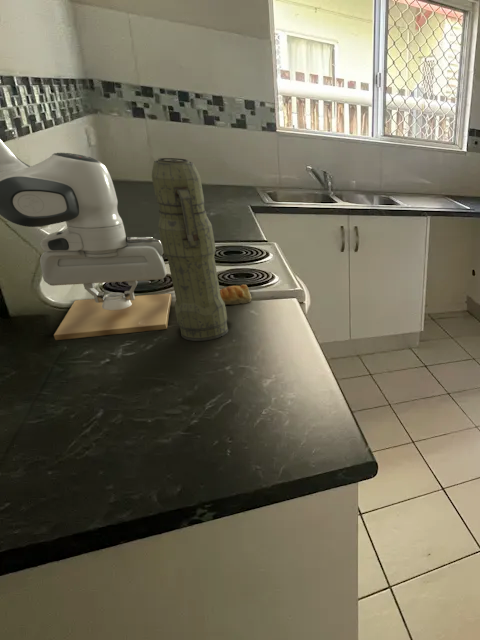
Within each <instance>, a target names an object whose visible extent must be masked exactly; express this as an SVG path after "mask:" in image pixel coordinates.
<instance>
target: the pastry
mask: <svg viewBox="0 0 480 640" xmlns="http://www.w3.org/2000/svg"><path fill="white" fill-rule="evenodd" d="M220 295H221V298H222V300H223V301H224V303H225V306H228V305H229V306H230V305H240V304H241V305H242V304H243V305H244V304H248V303H250V302H251V301H252V294H251V292H250V289H249V287H248V285H247V284H241V285H229V286H226V287H223V288H221V289H220Z"/></svg>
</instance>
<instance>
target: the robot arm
mask: <svg viewBox="0 0 480 640" xmlns="http://www.w3.org/2000/svg"><path fill="white" fill-rule="evenodd" d="M118 203H119V201H118V196H117V193H116V189H115V185H114V182H113V180H112V176H111V174H110V172H109V170H108V168H107V167H106V165H105V164H104V163H102V162H101V161H100V160H98V159H96V158H93V157H91V156H86V155H82V154H77V153H70V152H54V153H52V154H51V155H50V156H49V157H48V158H45V159H44V160H41V161H40V162H38V163H36V164H33V165H29V164H27V163H26V162H24V161H22V160H21V159H20V158H18V157H17V156H16V155H15V153H14V152H12V151H11V149H9V147H7V145H6V144H5V143H4V142H3V140H2V139H1V138H0V216H1V217H2V218H3V219H5V220H7V221H8V222H10V223H13V224H14V225H18V226H23V227H27V228H39V227H45V226H51V225H55V224H56V225H57V224H60V223H64V222H65V224H66V229H62V230H59V231H55V232H52V233H49V234H47V235H46V236H44V237H43V238H42V239H41V240H40V243H39V245H40V248H41V250H42V251H43V252H42V254H41V255H40V257H39V258H40V259H39V264H40V270H41V271H40V272H41V275H42V278H43V281H44V282H45V283H46V284H48V285H49V286H53V287H54V286H70V285H71V286H73V285H83V288H84V290H86V291H87V292H88V293H89V294H91V295H92V296H93V299H95V302H96V303H101V302H104V299H105V297H106V296H105V293H104V292H103V291H102V292H99V291H98V289H96V288H95V285H96V284H104V283H121V282H122V283H123V282H127V284H128V285H127V286H129V287H130V288H129V290H124V292H123V294H124V296H125V297H126V298H125V299H126V300H127V301H129V300H135V296H136V295H135V291H136V288H137V285H138V283H139V281H154V280H155V281H157V280H163V279H165V277H166V276H167V274H168V272H167V266H166V263H165V261H164V258H163V255H165V254H164V253H163V248H162V243H161V240H159V239H157V238H153V237H152V236H141V237H140V236H127V234H126V230H125V225H124V222H123V219H122V217H121V216H120V214H119V211H118Z"/></svg>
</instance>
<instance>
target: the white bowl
mask: <svg viewBox="0 0 480 640" xmlns="http://www.w3.org/2000/svg"><path fill="white" fill-rule="evenodd" d="M104 297H105V299H104V302H103V304H102V308H103V309H106V310H122V309H125V308H128V307H129V306H131V305H132V303H131V301H130V300H129V301H127V300H126V299H125V298H126V297H125V296H124V292H111V293H107V294H105V296H104Z"/></svg>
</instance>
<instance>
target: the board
mask: <svg viewBox="0 0 480 640" xmlns="http://www.w3.org/2000/svg"><path fill="white" fill-rule="evenodd" d="M134 296H135V300H130V301H131V303H132V305H131V306H129V307H128V308H125V309H122V310H106V309H103V308H102V304H103V302H101V303H96V302H95V298H88V299H75V300H74V301H73V303H72V305H71V306H70V308H69V310H68V311H67V313H66V314H65V316H64V317H63V319H62V321H61V322H60V324H59V326H58V327H57V329H56V330H55V332H54V334H53V337H54V339H55V341H61V340H62V341H64V340H72V339H83V338H91V337H93V338H94V337H103V336H113V335H122V334H132V333H141V332H143V333H144V332H152V331H160V330H161V331H162V330H168V324H169V316H170V312H171V305H172V299H173V297H172V294H171V293H159V294H158V293H157V294H145V295H144V294H143V295H134Z"/></svg>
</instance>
